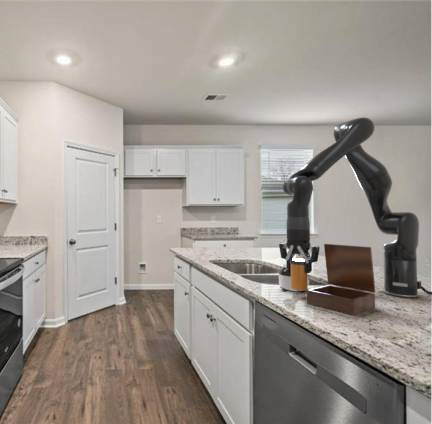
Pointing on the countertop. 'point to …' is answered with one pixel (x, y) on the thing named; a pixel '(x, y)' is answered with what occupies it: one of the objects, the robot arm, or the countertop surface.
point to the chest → (341, 299)
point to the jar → (298, 274)
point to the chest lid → (350, 266)
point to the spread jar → (287, 280)
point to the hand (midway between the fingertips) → (298, 271)
